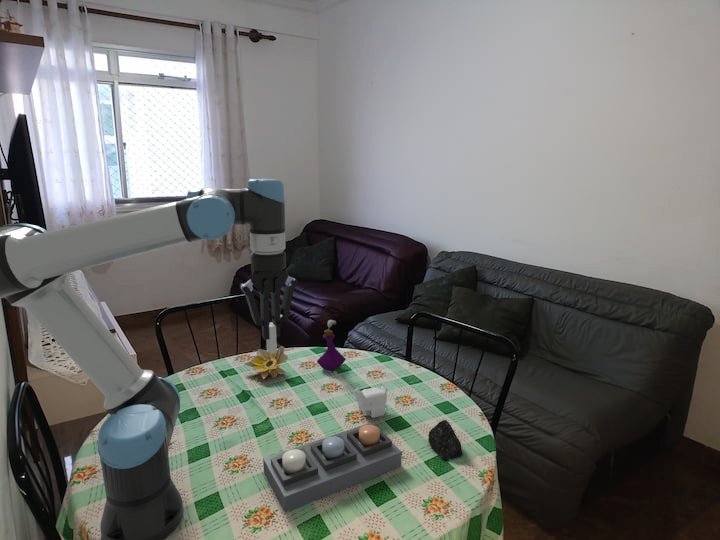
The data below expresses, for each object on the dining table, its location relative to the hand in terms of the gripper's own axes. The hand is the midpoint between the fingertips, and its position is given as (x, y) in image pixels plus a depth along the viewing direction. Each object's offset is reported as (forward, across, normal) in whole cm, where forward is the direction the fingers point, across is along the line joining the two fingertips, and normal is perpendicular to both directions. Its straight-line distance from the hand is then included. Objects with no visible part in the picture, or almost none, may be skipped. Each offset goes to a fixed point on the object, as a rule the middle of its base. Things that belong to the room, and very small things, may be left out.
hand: (271, 350), depth 102 cm
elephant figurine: (+30, +32, +6) cm, 44 cm away
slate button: (+25, +11, -10) cm, 29 cm away
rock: (+30, +40, -16) cm, 53 cm away
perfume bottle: (+30, +34, +37) cm, 58 cm away
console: (+29, +11, -10) cm, 33 cm away
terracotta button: (+25, +21, -10) cm, 34 cm away
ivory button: (+25, +1, -10) cm, 27 cm away
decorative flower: (+30, +13, +46) cm, 56 cm away
